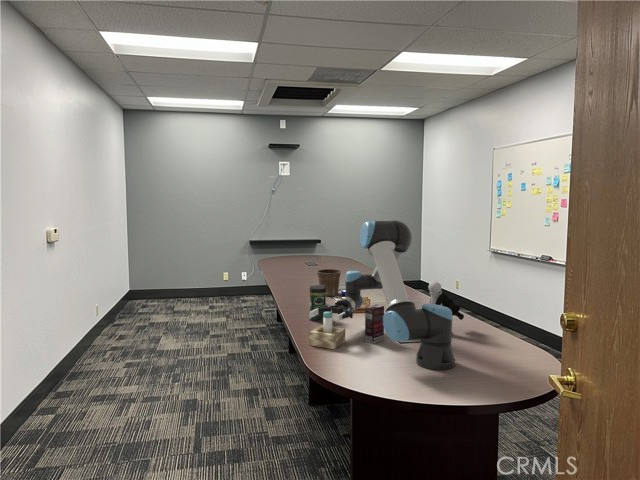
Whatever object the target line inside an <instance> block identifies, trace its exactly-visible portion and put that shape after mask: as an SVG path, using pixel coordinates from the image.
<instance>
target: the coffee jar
mask: <svg viewBox="0 0 640 480" xmlns="http://www.w3.org/2000/svg"><path fill="white" fill-rule="evenodd" d="M308 294H309V313H308V318H309V321H319V322H320V321H323V313H319V314H318V315H316V316H314V317H312V318H311V317H310V311H312V310H313V307H318V306H324V305H327V303H326V301H327V300H326V299H327V298H326V297H327V296H326V295H327V290H326V286H325V285H319V284H311V285H309V289H308Z"/></svg>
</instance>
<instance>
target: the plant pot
mask: <svg viewBox="0 0 640 480" xmlns="http://www.w3.org/2000/svg"><path fill="white" fill-rule="evenodd" d="M316 273H317V277H318V285H325V286H326V290H327V295H326V297H337V296H338V295H339V288H340V287H339V286H340V278H341V273H342V270H340V269H335V268H327V269H326V268H322V269H318V270H317V271H316Z"/></svg>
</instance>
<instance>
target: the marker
mask: <svg viewBox="0 0 640 480" xmlns="http://www.w3.org/2000/svg"><path fill="white" fill-rule="evenodd" d="M322 325H323V332H324V333H330V334H332V327H333V313H332V311H331V312H323V320H322Z"/></svg>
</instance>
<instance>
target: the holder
mask: <svg viewBox="0 0 640 480" xmlns="http://www.w3.org/2000/svg"><path fill="white" fill-rule="evenodd" d="M308 332H309V335H308V336H309V337H308V338H309V339H308V340H309V346H314V347H319V348H325V349H330V350H331V349H332V350H335V349H336V348H337V347H339V346H340V345H342V344H344V343H346V328H343V327H336V326H332V334H330V333H324V332H323V324H321V325H320V326H317V327H316V328H314V329H312V330H310V331H308Z"/></svg>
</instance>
